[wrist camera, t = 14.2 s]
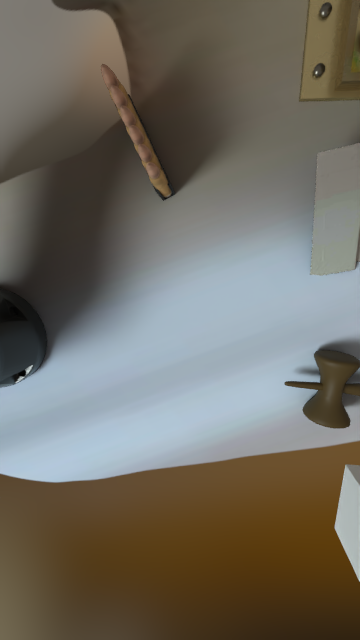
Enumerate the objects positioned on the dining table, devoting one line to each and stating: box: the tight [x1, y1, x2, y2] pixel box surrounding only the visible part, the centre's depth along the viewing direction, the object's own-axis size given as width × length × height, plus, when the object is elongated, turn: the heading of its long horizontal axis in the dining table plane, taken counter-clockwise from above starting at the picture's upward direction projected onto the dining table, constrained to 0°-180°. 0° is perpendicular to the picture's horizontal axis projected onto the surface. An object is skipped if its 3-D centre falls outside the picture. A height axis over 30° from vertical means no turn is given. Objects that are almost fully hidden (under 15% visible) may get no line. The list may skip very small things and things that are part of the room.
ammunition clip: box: [101, 64, 175, 201], centre depth 31 cm, size 11×2×12 cm, turn 26°
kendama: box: [285, 350, 360, 428], centre depth 40 cm, size 6×10×20 cm
